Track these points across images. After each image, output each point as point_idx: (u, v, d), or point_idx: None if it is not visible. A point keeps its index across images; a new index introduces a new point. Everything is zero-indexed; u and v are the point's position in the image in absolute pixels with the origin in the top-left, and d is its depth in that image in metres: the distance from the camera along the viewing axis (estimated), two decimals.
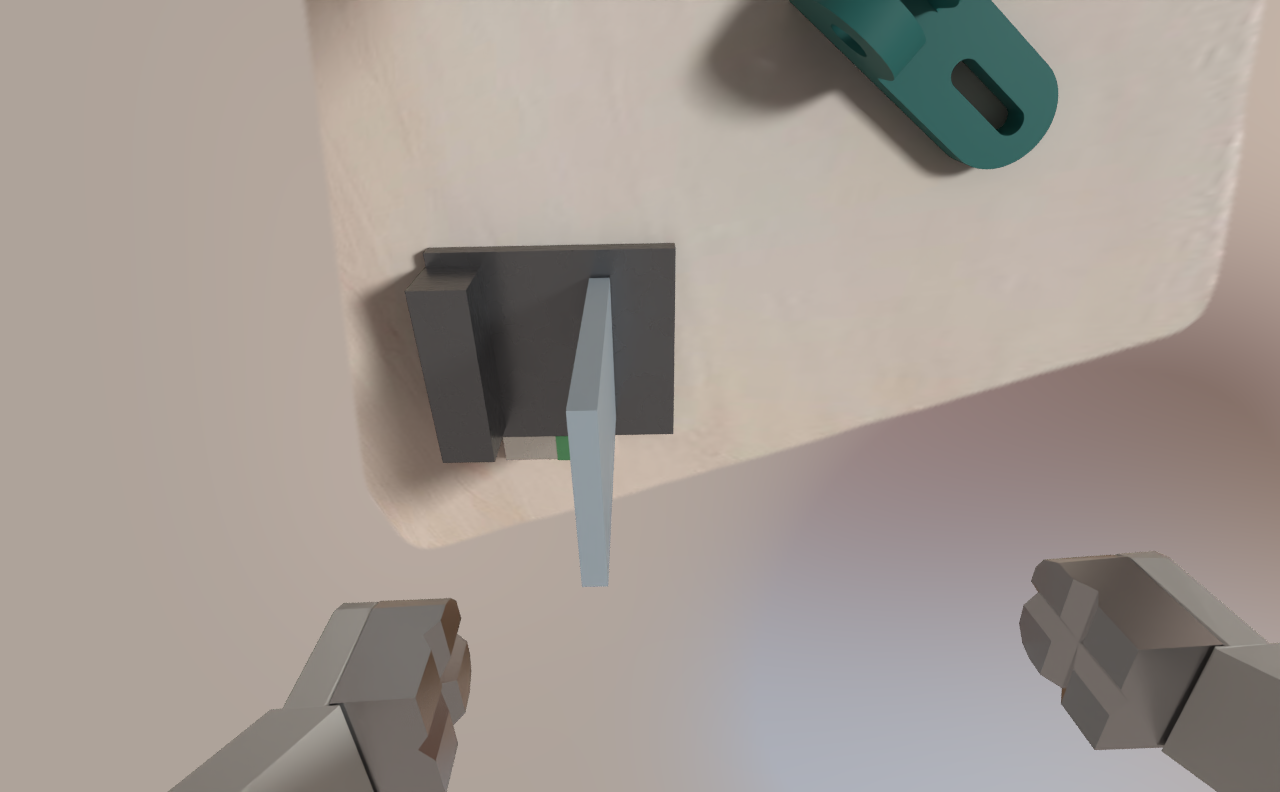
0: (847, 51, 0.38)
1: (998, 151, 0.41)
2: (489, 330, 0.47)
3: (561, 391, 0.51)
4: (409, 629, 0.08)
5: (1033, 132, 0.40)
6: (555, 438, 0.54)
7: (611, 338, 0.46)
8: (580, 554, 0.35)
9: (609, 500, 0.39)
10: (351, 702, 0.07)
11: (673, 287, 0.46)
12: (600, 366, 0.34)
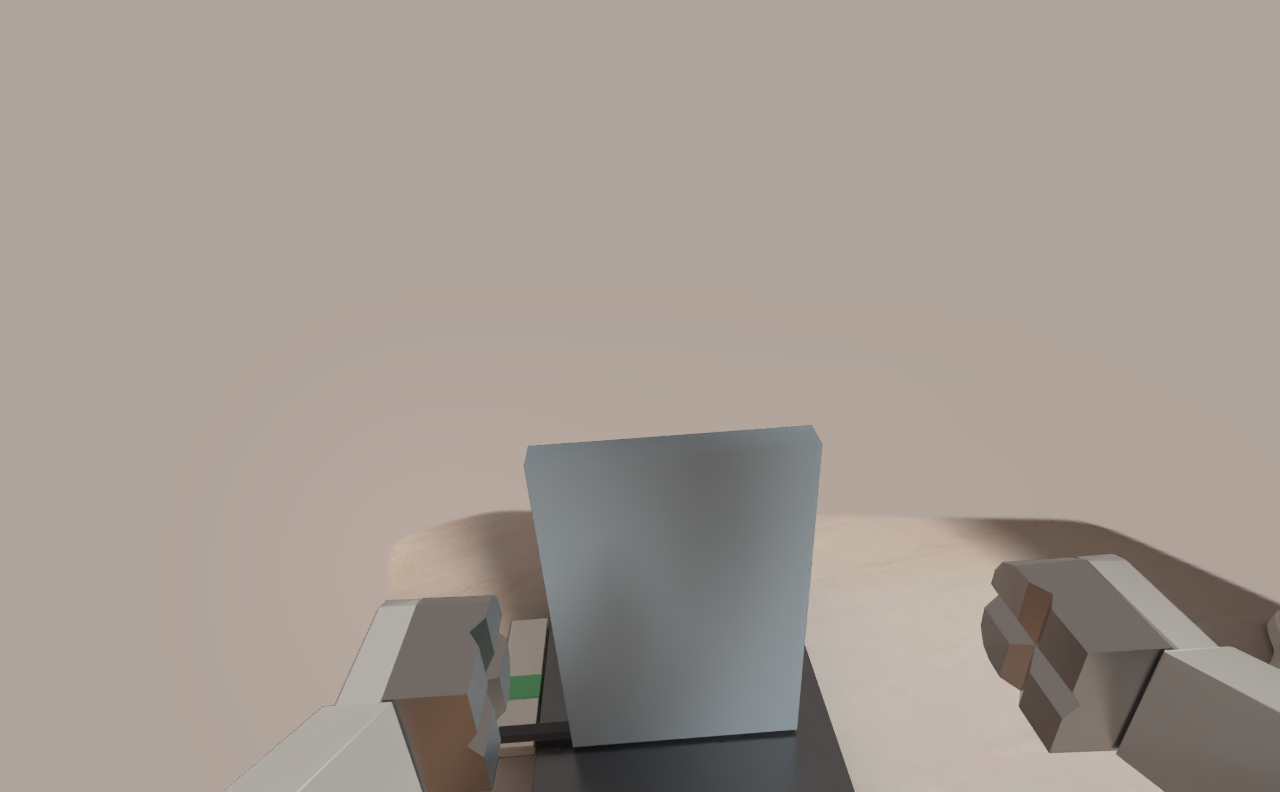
0: None
1: None
2: None
3: None
4: (455, 626, 0.08)
5: None
6: (536, 676, 0.38)
7: (720, 716, 0.33)
8: (589, 442, 0.26)
9: (588, 558, 0.27)
10: (403, 699, 0.07)
11: None
12: (813, 530, 0.27)
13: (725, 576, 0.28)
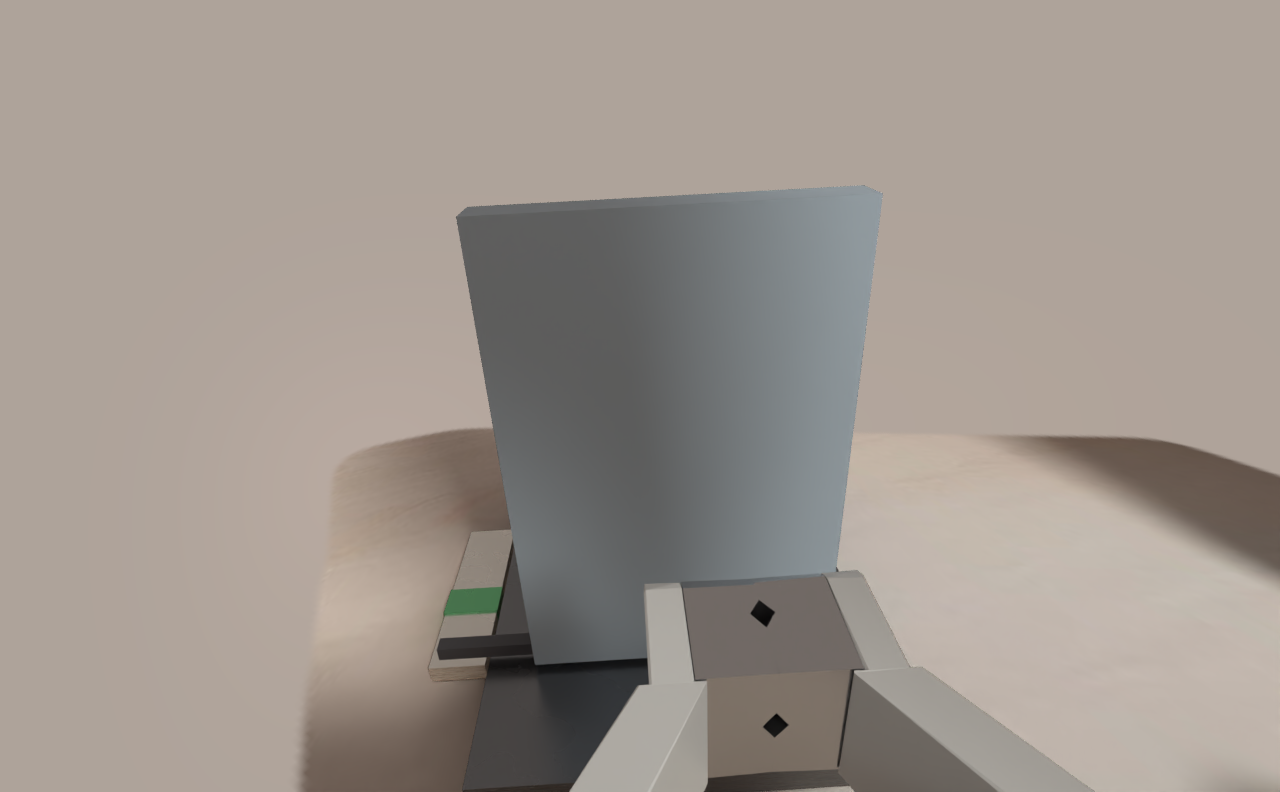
0: None
1: None
2: None
3: None
4: (733, 608, 0.08)
5: None
6: (496, 589, 0.31)
7: None
8: (552, 202, 0.19)
9: (551, 375, 0.20)
10: (715, 678, 0.07)
11: None
12: (863, 340, 0.20)
13: (739, 410, 0.21)
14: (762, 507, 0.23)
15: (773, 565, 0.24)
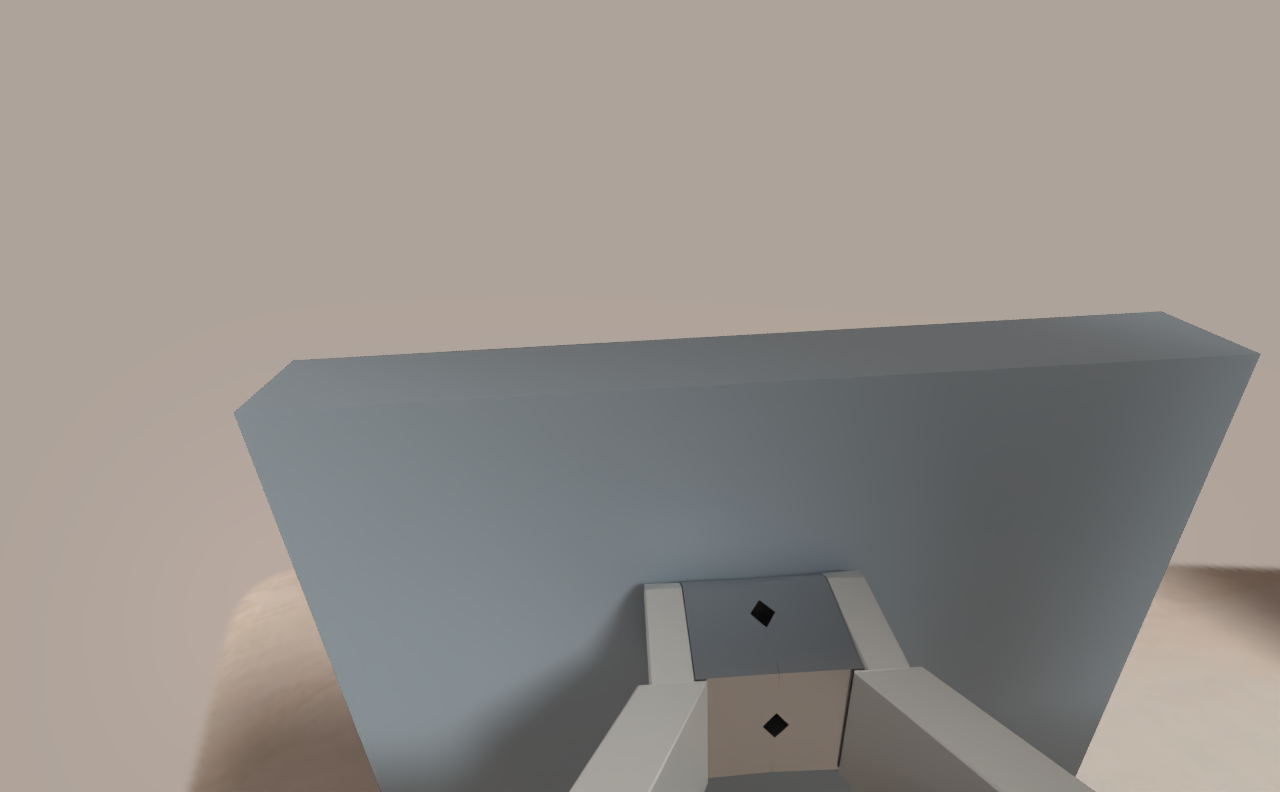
0: None
1: None
2: None
3: None
4: (733, 608, 0.08)
5: None
6: None
7: None
8: (479, 351, 0.09)
9: (485, 695, 0.10)
10: (715, 678, 0.07)
11: None
12: (1136, 626, 0.09)
13: None
14: None
15: None
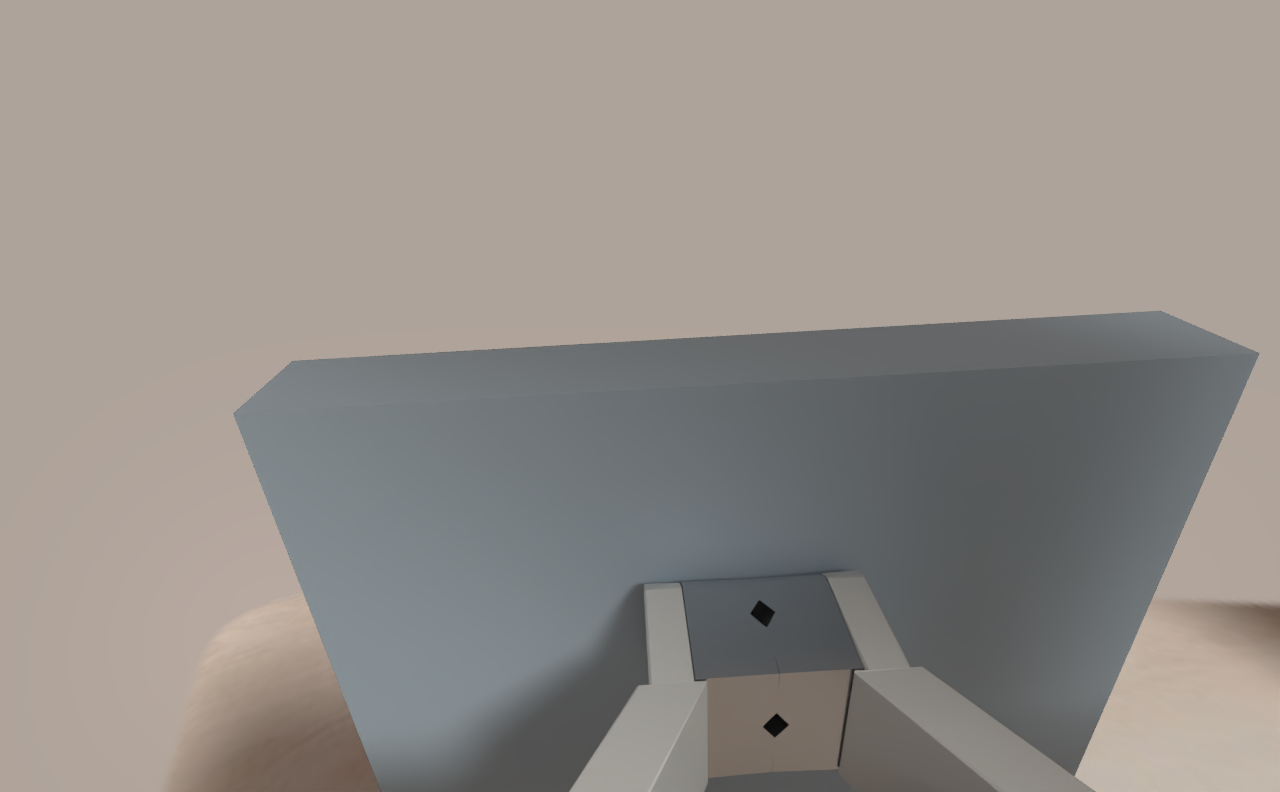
0: None
1: None
2: None
3: None
4: (733, 608, 0.08)
5: None
6: None
7: None
8: (479, 351, 0.09)
9: (486, 695, 0.10)
10: (715, 678, 0.07)
11: None
12: (1135, 625, 0.09)
13: None
14: None
15: None
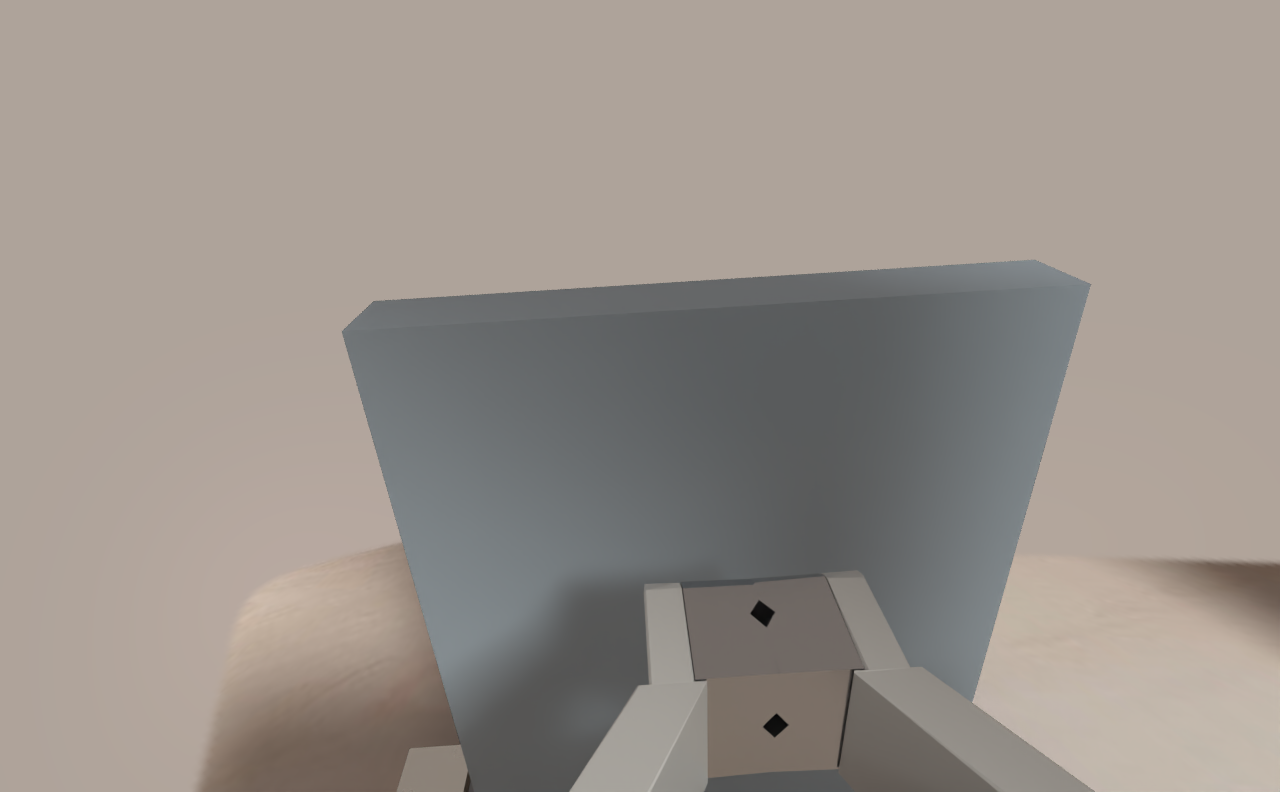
0: None
1: None
2: None
3: None
4: (732, 608, 0.08)
5: None
6: None
7: None
8: (515, 293, 0.11)
9: (519, 566, 0.12)
10: (715, 678, 0.07)
11: None
12: (1024, 507, 0.12)
13: None
14: None
15: None
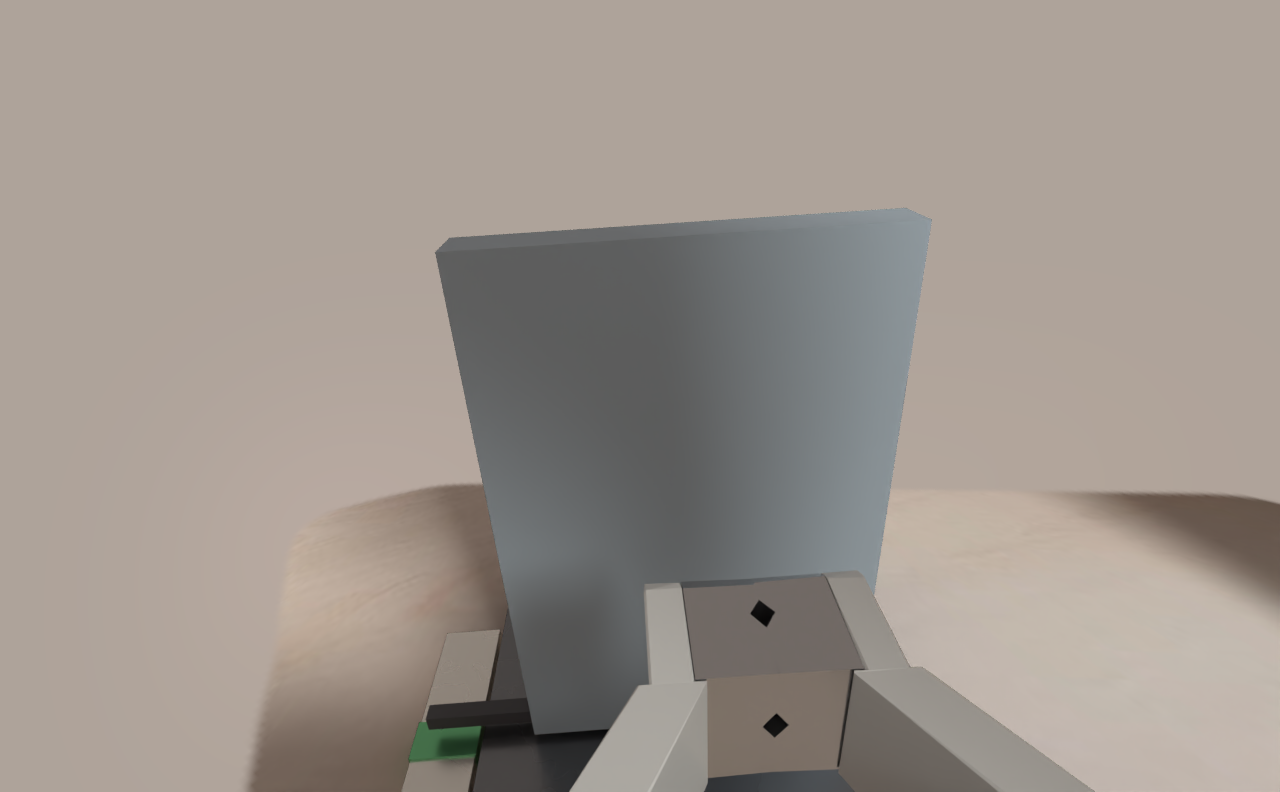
0: None
1: None
2: None
3: None
4: (733, 608, 0.08)
5: None
6: None
7: None
8: (547, 231, 0.16)
9: (549, 428, 0.17)
10: (715, 678, 0.07)
11: None
12: (904, 384, 0.17)
13: (762, 463, 0.18)
14: (787, 566, 0.20)
15: None
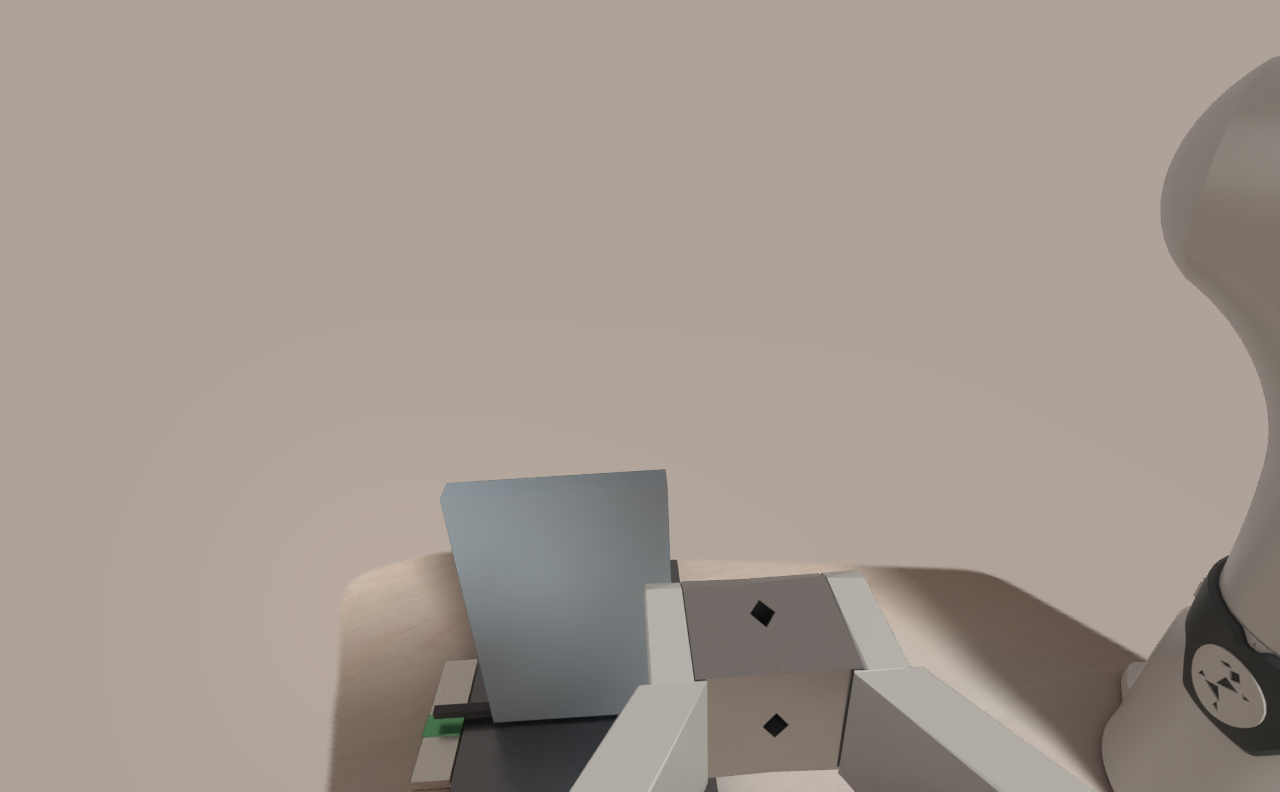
0: None
1: None
2: None
3: None
4: (733, 608, 0.08)
5: None
6: None
7: (611, 698, 0.41)
8: (493, 480, 0.34)
9: (495, 570, 0.35)
10: (715, 678, 0.07)
11: None
12: (669, 550, 0.35)
13: (603, 585, 0.36)
14: (624, 633, 0.38)
15: (635, 665, 0.39)
